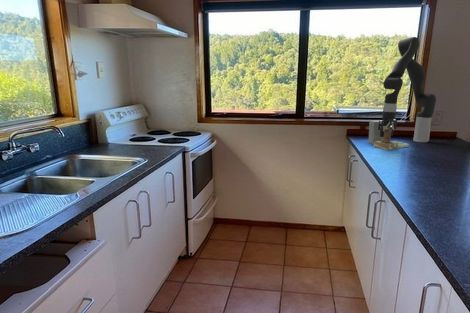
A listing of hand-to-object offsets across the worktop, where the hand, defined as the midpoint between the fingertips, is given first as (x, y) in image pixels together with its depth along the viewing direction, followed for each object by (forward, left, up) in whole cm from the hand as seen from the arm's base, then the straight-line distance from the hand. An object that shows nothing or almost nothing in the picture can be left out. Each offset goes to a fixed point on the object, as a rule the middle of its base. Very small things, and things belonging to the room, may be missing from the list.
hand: (386, 136), depth 205 cm
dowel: (0, 0, -7) cm, 7 cm away
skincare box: (-6, -13, -8) cm, 16 cm away
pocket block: (0, 0, -8) cm, 8 cm away
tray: (-11, 0, -8) cm, 14 cm away
